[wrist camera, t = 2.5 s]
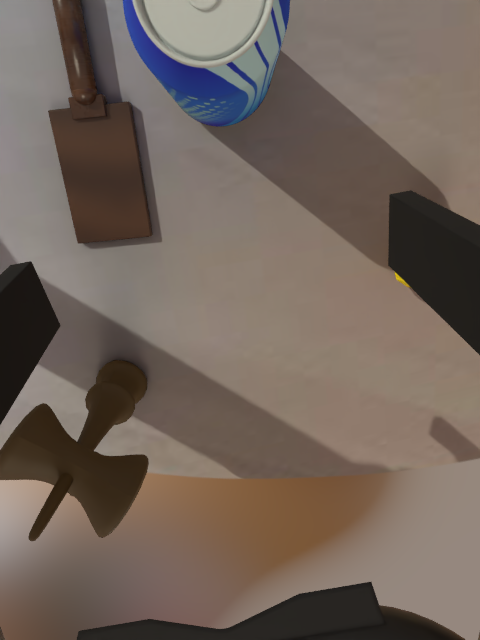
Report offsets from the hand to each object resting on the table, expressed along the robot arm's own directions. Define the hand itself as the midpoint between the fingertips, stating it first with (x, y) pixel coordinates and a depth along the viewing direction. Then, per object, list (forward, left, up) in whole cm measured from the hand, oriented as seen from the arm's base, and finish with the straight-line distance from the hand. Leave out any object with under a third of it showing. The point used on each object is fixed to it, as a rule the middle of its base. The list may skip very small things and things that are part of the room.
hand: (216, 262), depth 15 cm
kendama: (+1, -20, -23) cm, 31 cm away
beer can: (-8, +8, -23) cm, 26 cm away
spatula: (-16, +1, -23) cm, 28 cm away
